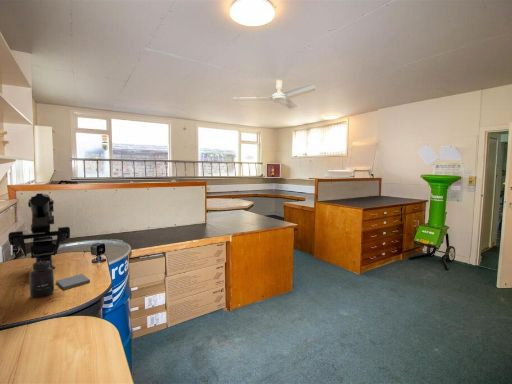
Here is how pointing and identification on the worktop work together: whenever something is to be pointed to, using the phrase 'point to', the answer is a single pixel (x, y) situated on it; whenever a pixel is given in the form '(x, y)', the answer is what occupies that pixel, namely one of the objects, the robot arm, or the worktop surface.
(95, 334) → the worktop surface
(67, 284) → the coaster
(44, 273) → the supplement bottle
